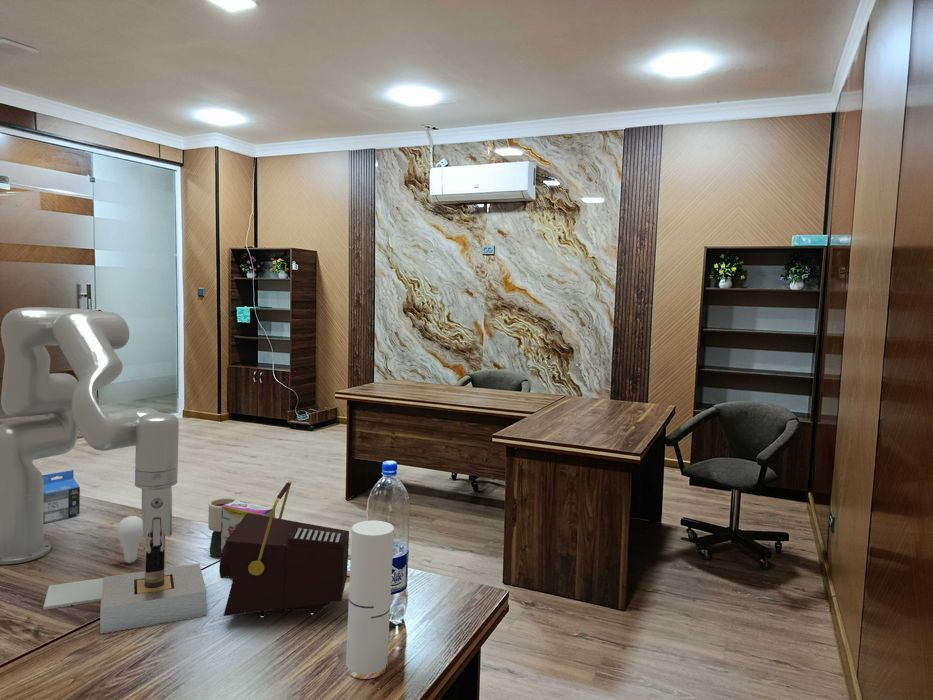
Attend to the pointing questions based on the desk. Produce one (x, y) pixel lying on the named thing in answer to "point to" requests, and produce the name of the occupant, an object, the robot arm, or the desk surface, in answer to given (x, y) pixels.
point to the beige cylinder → (154, 577)
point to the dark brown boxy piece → (283, 564)
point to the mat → (73, 593)
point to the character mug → (216, 523)
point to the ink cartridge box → (60, 497)
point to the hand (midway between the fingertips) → (154, 565)
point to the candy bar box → (239, 516)
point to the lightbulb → (130, 536)
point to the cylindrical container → (369, 596)
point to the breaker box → (151, 599)
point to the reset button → (143, 589)
